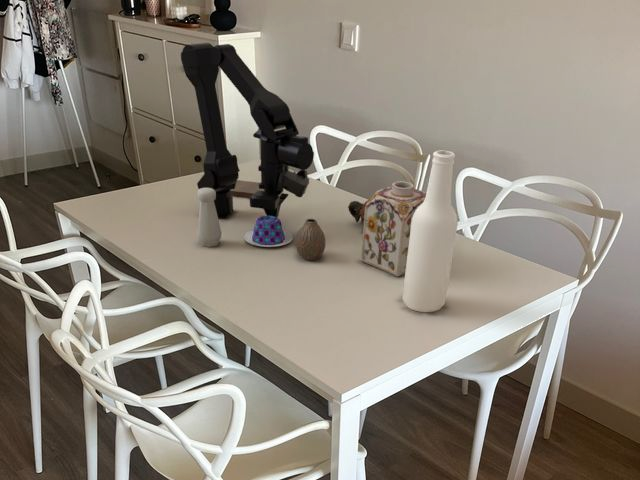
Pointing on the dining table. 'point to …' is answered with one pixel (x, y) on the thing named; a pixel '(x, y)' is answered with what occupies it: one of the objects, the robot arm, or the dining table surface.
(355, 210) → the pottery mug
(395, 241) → the decorative jar
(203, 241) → the salt shaker
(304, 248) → the vase
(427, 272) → the alcohol
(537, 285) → the dining table surface
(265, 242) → the pudding
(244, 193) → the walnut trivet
